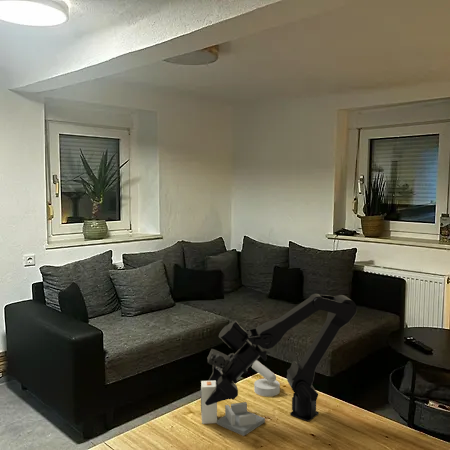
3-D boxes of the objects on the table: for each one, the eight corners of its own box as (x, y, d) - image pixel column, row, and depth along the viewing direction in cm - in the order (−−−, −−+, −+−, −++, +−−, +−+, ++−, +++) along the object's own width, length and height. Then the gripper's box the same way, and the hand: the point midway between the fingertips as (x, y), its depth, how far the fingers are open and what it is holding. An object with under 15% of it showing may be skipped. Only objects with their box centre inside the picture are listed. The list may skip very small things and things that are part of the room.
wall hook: (259, 356, 163) (284, 362, 157) (259, 382, 164) (284, 389, 158) (245, 363, 156) (271, 370, 150) (245, 390, 157) (271, 399, 151)
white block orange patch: (216, 415, 140) (215, 379, 139) (217, 422, 136) (217, 385, 135) (200, 416, 140) (200, 380, 139) (201, 423, 135) (201, 386, 134)
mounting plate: (265, 421, 136) (265, 408, 136) (243, 436, 128) (243, 421, 128) (238, 410, 143) (238, 397, 142) (216, 423, 135) (216, 410, 135)
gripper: (220, 331, 145) (185, 366, 145) (226, 352, 127) (186, 393, 127) (245, 355, 147) (210, 389, 147) (254, 379, 128) (214, 419, 128)
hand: (205, 396), depth 137 cm, fingers open, 9 cm apart
